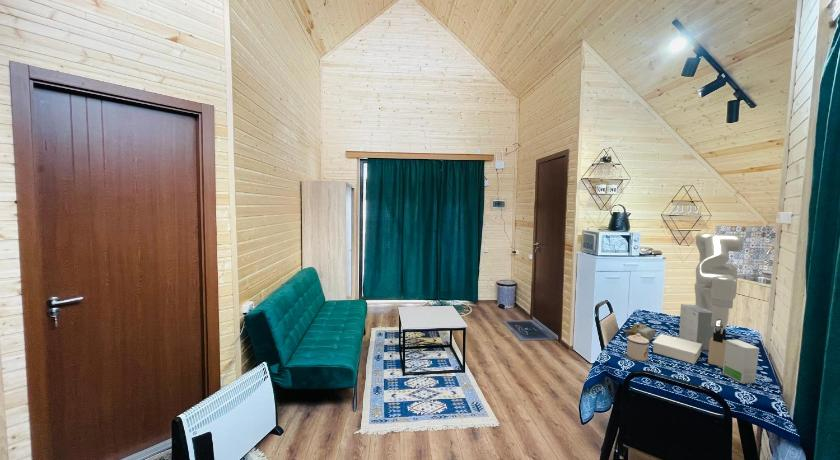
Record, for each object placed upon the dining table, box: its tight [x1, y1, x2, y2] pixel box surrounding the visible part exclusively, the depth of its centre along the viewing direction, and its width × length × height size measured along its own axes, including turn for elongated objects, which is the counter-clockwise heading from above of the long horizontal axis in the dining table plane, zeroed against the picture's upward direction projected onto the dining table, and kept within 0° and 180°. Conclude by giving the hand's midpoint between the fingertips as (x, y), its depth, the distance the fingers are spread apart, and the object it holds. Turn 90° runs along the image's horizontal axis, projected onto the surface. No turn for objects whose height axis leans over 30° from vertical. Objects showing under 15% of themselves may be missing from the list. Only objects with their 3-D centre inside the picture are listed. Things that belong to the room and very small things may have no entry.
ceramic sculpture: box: [622, 322, 656, 342], centre depth 180 cm, size 11×9×15 cm
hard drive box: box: [678, 303, 714, 352], centre depth 170 cm, size 16×8×20 cm, turn 168°
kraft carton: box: [707, 337, 727, 368], centre depth 149 cm, size 5×6×11 cm
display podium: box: [652, 333, 702, 365], centre depth 160 cm, size 17×17×5 cm
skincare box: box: [722, 339, 760, 384], centre depth 135 cm, size 8×7×16 cm
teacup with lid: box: [626, 333, 650, 362], centre depth 156 cm, size 12×9×12 cm
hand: (719, 339), depth 148 cm, fingers open, 9 cm apart
